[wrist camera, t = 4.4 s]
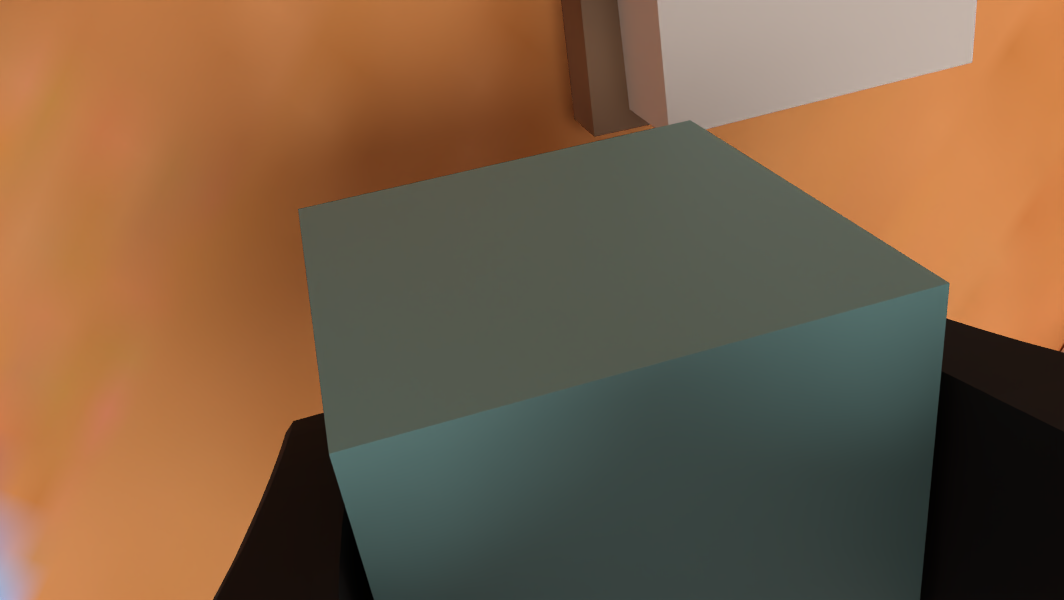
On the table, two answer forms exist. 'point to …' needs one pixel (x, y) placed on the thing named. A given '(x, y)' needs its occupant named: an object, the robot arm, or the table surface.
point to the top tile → (779, 52)
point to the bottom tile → (597, 66)
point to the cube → (625, 381)
